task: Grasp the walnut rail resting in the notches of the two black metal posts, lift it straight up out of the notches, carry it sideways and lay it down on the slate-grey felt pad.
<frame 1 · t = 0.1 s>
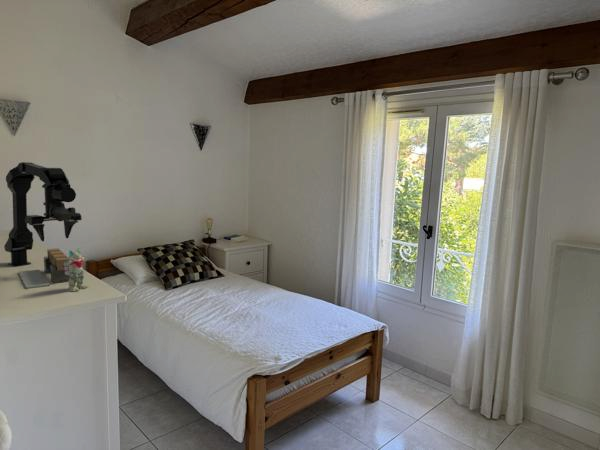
hand: (55, 239, 159), 15 cm above the table, fingers open, 9 cm apart
pad: (33, 279, 155), on the table
rail: (58, 263, 160), point 5 cm above the table, touching rack
rack: (58, 276, 160), on the table
figurine: (76, 289, 146), on the table
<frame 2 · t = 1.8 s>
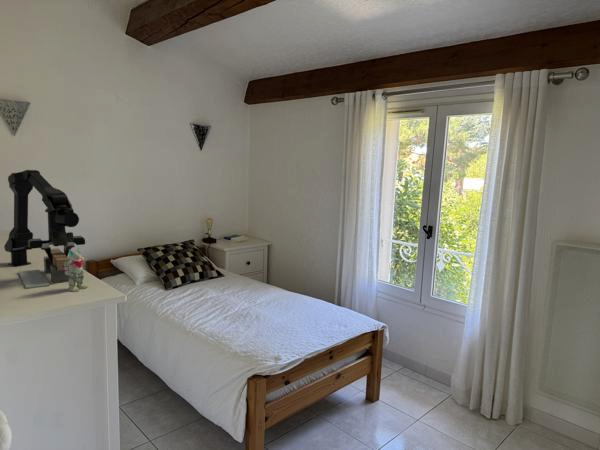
hand: (58, 263, 160), 5 cm above the table, fingers closed on rail, 4 cm apart
rail: (58, 263, 160), point 5 cm above the table, touching gripper, rack
everything else where it was.
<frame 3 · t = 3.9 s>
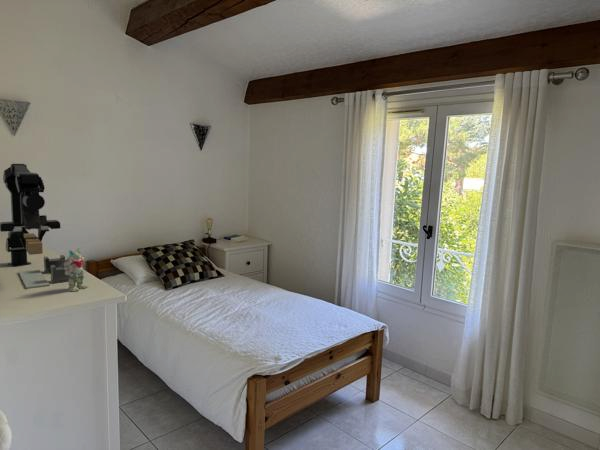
hand: (31, 247, 153), 12 cm above the table, fingers closed on rail, 4 cm apart
rail: (31, 248, 153), point 12 cm above the table, touching gripper
everything else where it was.
when the fingers open (2 cm above the table, at t = 5.9 s): rail drops 1 cm, resting on pad.
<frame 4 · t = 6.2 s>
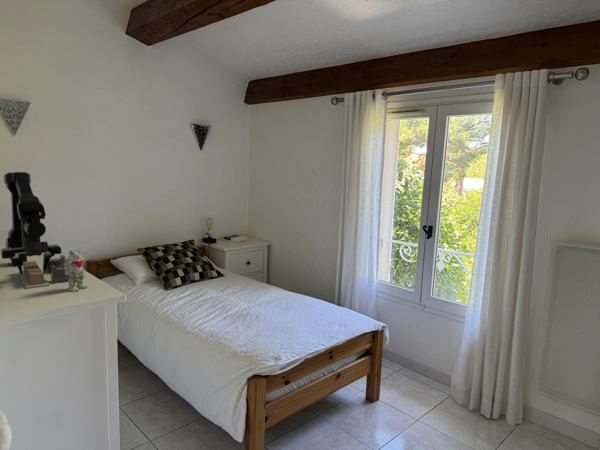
hand: (33, 273, 155), 2 cm above the table, fingers open, 7 cm apart
rail: (33, 277, 155), point 1 cm above the table, touching pad
everything else where it was.
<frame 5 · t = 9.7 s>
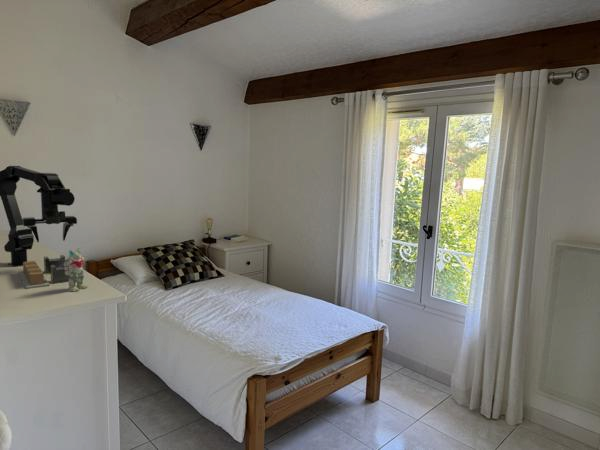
hand: (51, 241, 168), 12 cm above the table, fingers open, 9 cm apart
nothing on the table moved.
at the end: rail 0.0 cm from the pad (horizontally); rail point 0.6 cm above the table; rail tilted 0° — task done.
